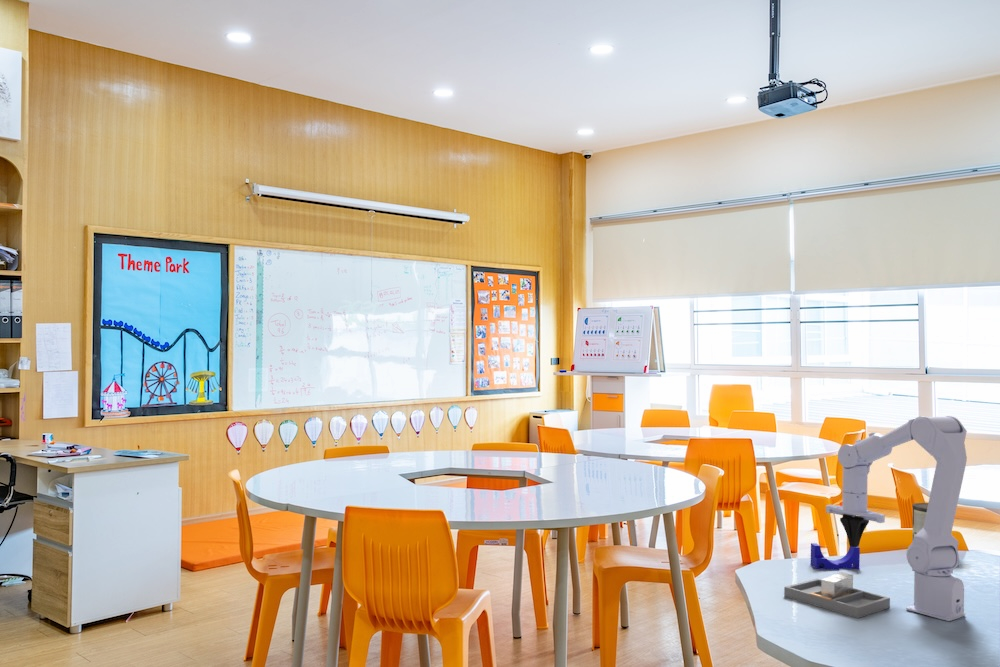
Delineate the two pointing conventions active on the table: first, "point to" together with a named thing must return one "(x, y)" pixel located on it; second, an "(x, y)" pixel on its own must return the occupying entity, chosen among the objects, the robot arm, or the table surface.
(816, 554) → the blue arch block
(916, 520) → the coffee can
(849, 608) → the bay rack
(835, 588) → the light grey rectangular block
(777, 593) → the table surface
